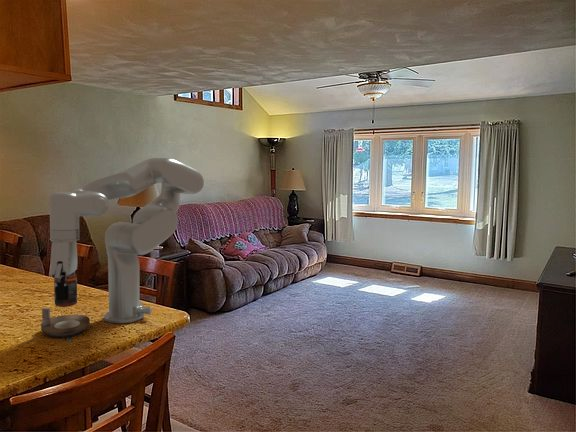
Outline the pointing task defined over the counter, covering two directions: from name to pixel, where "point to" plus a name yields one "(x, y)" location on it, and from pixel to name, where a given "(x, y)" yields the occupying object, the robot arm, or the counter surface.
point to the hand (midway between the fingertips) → (65, 295)
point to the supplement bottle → (72, 291)
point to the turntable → (63, 323)
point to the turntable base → (65, 335)
